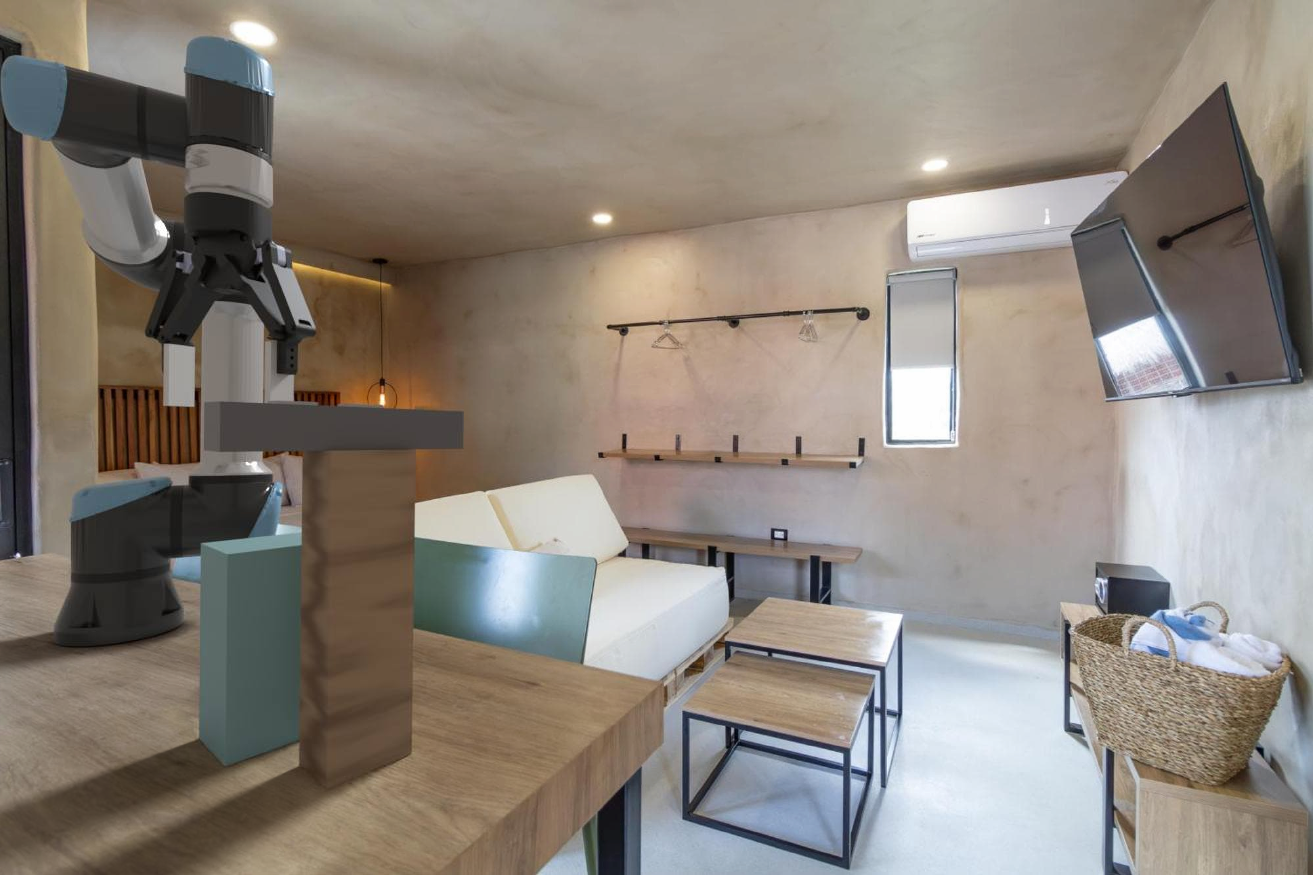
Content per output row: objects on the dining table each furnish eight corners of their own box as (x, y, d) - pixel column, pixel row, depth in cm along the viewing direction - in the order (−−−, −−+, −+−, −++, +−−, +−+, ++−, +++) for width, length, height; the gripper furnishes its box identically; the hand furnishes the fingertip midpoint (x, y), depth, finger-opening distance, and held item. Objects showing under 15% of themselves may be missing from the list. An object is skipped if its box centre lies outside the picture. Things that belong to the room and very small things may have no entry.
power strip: (203, 450, 51) (204, 397, 51) (442, 447, 68) (442, 408, 68) (219, 452, 48) (220, 396, 48) (463, 448, 65) (463, 407, 65)
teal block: (198, 738, 63) (200, 543, 62) (308, 703, 71) (310, 531, 71) (225, 766, 58) (227, 554, 57) (340, 725, 66) (342, 539, 66)
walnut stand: (299, 765, 58) (302, 448, 58) (381, 733, 64) (385, 447, 64) (326, 789, 54) (330, 451, 54) (411, 753, 60) (415, 449, 60)
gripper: (102, 198, 63) (101, 404, 64) (295, 176, 56) (292, 406, 57) (177, 222, 71) (175, 406, 71) (356, 205, 64) (353, 409, 64)
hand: (227, 407), depth 64 cm, fingers open, 13 cm apart
